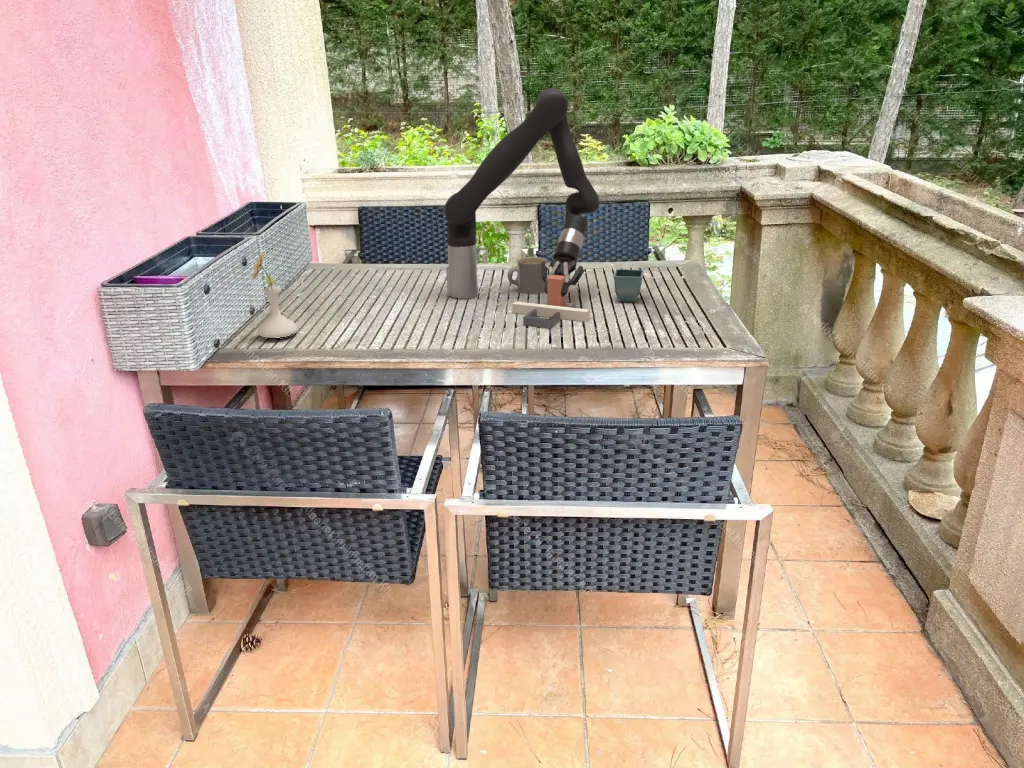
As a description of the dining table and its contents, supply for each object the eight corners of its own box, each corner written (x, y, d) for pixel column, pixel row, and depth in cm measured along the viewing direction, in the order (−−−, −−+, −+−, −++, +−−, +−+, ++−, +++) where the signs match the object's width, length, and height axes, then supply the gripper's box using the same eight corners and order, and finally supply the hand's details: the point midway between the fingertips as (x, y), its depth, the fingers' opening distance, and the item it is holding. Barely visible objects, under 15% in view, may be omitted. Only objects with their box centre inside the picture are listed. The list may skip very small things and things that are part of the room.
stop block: (547, 306, 238) (547, 278, 234) (552, 302, 241) (552, 274, 238) (560, 308, 236) (561, 279, 232) (565, 304, 240) (566, 276, 236)
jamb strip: (512, 313, 238) (512, 303, 236) (527, 303, 247) (526, 293, 246) (586, 321, 228) (586, 312, 227) (598, 311, 238) (598, 301, 237)
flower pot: (640, 304, 243) (642, 276, 240) (612, 303, 245) (613, 275, 241) (642, 296, 251) (643, 269, 248) (615, 295, 253) (615, 268, 249)
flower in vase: (265, 329, 228) (252, 245, 218) (303, 329, 227) (292, 245, 218) (250, 344, 216) (236, 256, 206) (290, 344, 215) (278, 256, 206)
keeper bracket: (523, 325, 227) (523, 317, 226) (533, 317, 233) (533, 309, 232) (550, 328, 223) (550, 320, 222) (560, 320, 230) (560, 312, 229)
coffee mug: (546, 285, 266) (546, 256, 262) (548, 293, 257) (548, 263, 253) (507, 286, 266) (506, 257, 262) (508, 294, 257) (507, 264, 253)
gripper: (544, 238, 240) (529, 285, 235) (588, 242, 235) (573, 290, 229) (550, 251, 247) (536, 297, 241) (593, 255, 241) (579, 303, 236)
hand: (554, 294), depth 235 cm, fingers closed on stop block, 4 cm apart
